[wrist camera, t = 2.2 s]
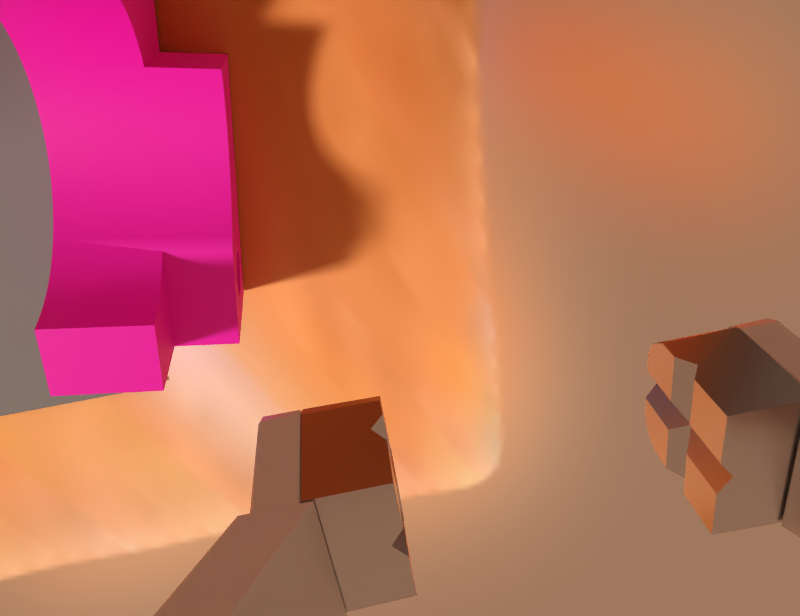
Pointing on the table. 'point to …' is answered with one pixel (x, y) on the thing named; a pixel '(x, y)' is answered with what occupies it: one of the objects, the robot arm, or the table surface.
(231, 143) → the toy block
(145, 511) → the table surface
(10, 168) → the rubber mat
